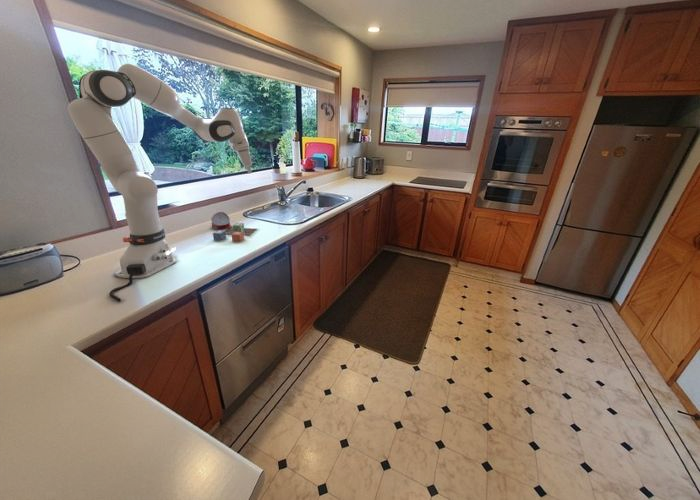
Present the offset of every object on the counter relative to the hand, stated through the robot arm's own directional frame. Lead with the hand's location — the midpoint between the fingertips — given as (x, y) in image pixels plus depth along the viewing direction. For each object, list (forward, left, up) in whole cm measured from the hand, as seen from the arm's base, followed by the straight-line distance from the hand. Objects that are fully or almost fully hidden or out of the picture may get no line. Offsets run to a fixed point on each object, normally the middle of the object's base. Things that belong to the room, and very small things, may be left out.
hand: (248, 170), depth 146 cm
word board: (-2, +9, -34) cm, 36 cm away
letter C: (-14, +4, -34) cm, 37 cm away
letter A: (-2, +9, -34) cm, 35 cm away
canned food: (+4, +22, -35) cm, 41 cm away
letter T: (-14, +14, -34) cm, 39 cm away
